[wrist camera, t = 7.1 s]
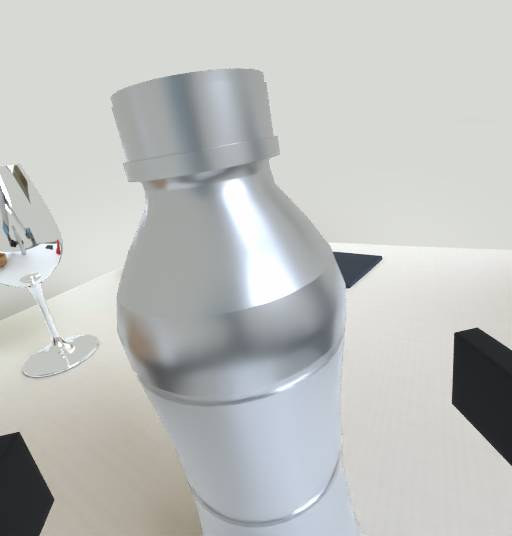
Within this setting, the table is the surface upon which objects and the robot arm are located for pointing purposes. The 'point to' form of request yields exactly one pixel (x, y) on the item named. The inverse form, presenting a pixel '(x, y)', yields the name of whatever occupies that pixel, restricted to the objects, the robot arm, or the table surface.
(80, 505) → the table surface
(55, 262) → the wineglass
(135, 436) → the table surface
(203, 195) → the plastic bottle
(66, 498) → the table surface
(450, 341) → the table surface
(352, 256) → the mat
